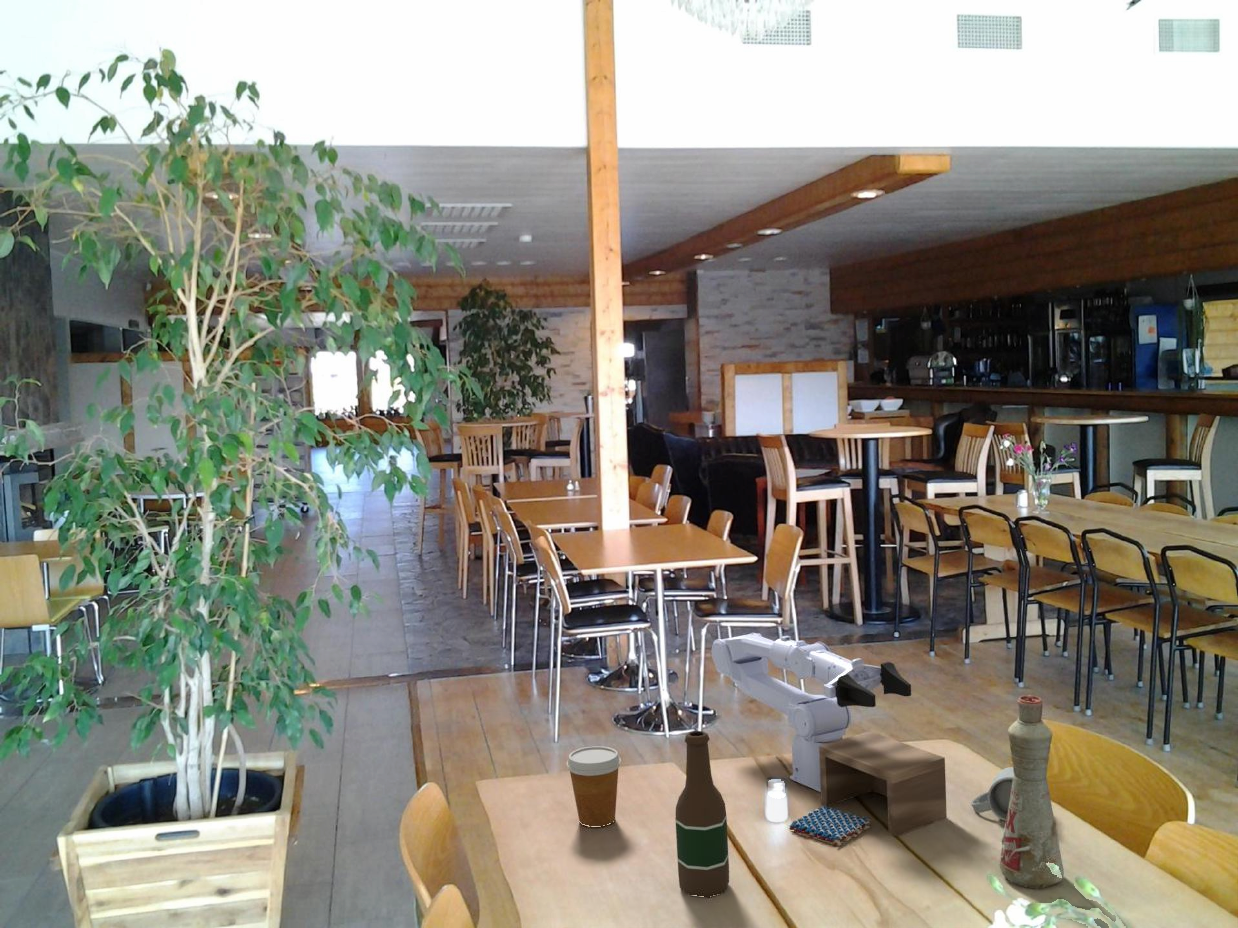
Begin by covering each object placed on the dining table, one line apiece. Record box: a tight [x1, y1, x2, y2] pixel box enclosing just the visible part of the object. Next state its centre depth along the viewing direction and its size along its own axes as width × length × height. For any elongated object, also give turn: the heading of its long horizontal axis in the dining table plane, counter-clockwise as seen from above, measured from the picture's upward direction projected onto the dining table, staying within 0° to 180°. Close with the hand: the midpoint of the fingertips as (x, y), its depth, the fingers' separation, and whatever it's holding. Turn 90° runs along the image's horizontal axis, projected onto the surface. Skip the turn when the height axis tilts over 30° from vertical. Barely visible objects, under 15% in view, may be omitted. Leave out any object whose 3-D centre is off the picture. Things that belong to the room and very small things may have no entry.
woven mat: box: [788, 804, 872, 847], centre depth 194 cm, size 10×11×2 cm
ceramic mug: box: [971, 766, 1014, 822], centre depth 196 cm, size 11×8×8 cm
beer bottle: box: [675, 730, 730, 898], centre depth 174 cm, size 8×8×24 cm
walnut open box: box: [819, 730, 948, 837], centre depth 199 cm, size 18×12×10 cm, turn 32°
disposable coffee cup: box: [566, 745, 622, 826], centre depth 202 cm, size 10×10×12 cm
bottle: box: [998, 694, 1065, 890], centre depth 171 cm, size 9×9×28 cm
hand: (891, 695), depth 194 cm, fingers open, 7 cm apart
